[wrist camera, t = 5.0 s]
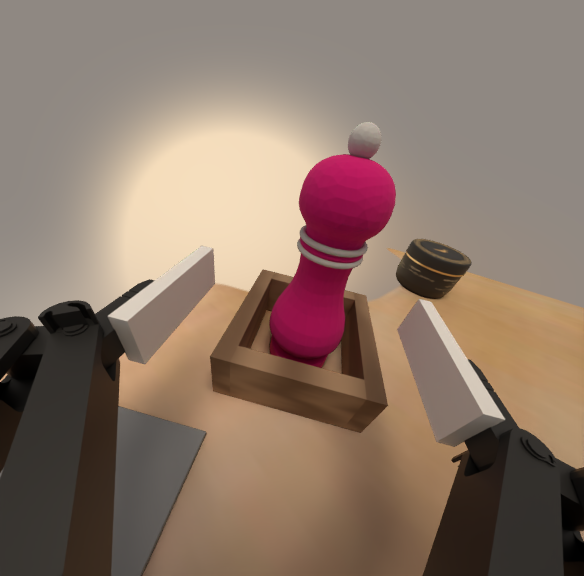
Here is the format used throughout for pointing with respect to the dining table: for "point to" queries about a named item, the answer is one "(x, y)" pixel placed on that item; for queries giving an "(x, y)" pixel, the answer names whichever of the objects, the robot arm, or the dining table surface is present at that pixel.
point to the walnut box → (301, 364)
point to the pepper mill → (331, 247)
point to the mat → (147, 484)
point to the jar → (431, 268)
